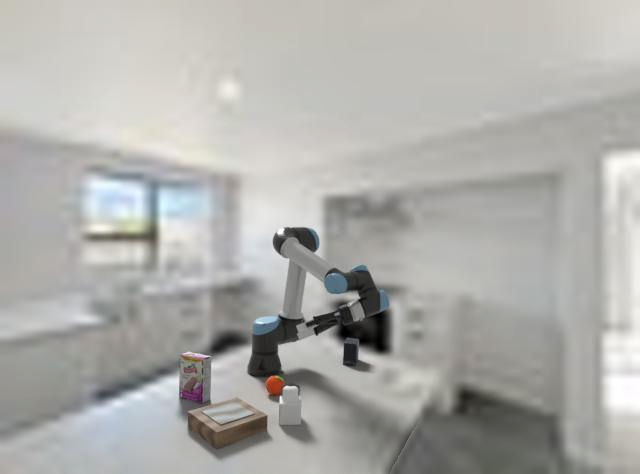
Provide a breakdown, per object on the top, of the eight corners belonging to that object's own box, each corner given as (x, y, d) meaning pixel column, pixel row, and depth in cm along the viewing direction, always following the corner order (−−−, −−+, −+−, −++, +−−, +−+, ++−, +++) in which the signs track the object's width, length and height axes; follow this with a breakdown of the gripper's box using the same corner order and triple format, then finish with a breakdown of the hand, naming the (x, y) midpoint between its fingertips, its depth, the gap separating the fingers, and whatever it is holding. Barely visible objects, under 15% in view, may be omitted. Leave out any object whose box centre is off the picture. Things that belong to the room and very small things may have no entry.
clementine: (288, 392, 170) (289, 374, 169) (281, 399, 163) (281, 380, 163) (270, 389, 172) (270, 371, 172) (262, 395, 166) (262, 377, 166)
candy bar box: (178, 398, 161) (179, 354, 161) (187, 393, 166) (188, 350, 165) (202, 404, 156) (203, 359, 156) (211, 399, 161) (212, 355, 160)
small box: (356, 366, 204) (357, 344, 204) (342, 364, 205) (343, 342, 205) (358, 359, 214) (359, 338, 214) (345, 358, 216) (346, 337, 215)
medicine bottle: (279, 416, 149) (280, 381, 148) (300, 415, 149) (301, 381, 149) (278, 425, 142) (279, 389, 141) (300, 425, 142) (301, 389, 142)
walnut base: (187, 426, 139) (188, 410, 139) (236, 411, 151) (236, 396, 151) (216, 449, 126) (216, 431, 126) (267, 430, 138) (267, 414, 138)
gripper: (357, 313, 153) (300, 336, 149) (351, 329, 175) (301, 348, 172) (349, 294, 155) (293, 315, 152) (343, 312, 178) (295, 331, 174)
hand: (297, 333), depth 162 cm, fingers open, 13 cm apart
